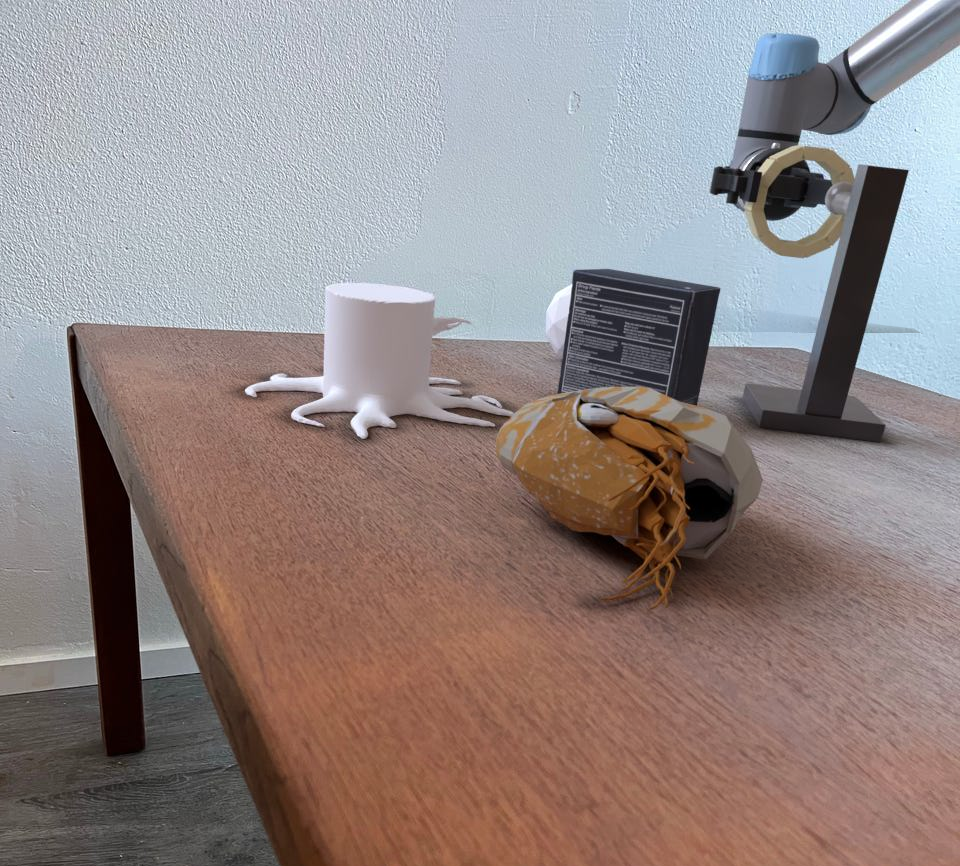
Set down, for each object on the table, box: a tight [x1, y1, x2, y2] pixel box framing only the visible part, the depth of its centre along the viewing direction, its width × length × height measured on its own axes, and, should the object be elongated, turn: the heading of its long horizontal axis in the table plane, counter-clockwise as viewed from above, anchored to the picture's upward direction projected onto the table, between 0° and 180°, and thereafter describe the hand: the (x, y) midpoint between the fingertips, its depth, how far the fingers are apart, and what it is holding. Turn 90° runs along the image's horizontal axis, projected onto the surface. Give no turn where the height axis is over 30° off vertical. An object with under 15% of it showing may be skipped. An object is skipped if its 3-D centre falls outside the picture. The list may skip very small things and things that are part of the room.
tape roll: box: [744, 145, 855, 259], centre depth 99 cm, size 10×5×10 cm, turn 84°
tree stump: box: [244, 282, 515, 440], centre depth 75 cm, size 20×19×8 cm
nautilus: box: [494, 387, 764, 611], centre depth 53 cm, size 8×22×15 cm
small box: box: [556, 268, 722, 406], centre depth 80 cm, size 11×6×10 cm, turn 58°
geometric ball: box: [544, 283, 572, 358], centre depth 96 cm, size 8×8×8 cm
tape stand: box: [741, 163, 910, 443], centre depth 83 cm, size 10×14×20 cm
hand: (810, 193), depth 95 cm, fingers closed on tape roll, 10 cm apart
